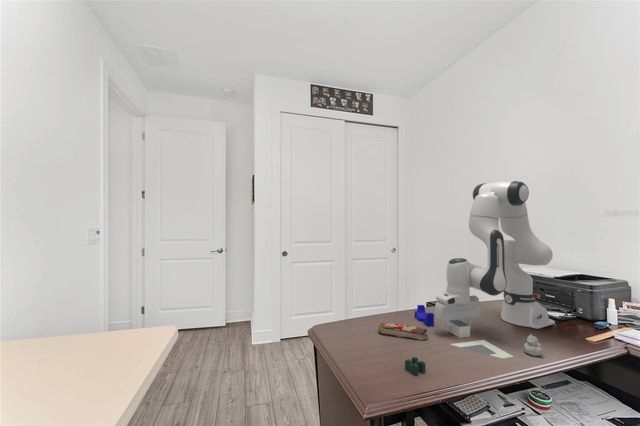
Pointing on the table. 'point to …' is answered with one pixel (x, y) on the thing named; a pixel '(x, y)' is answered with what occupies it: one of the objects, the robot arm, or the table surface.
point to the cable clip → (424, 316)
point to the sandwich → (403, 331)
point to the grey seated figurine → (533, 346)
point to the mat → (483, 348)
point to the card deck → (459, 328)
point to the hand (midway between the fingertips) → (458, 329)
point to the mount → (415, 366)
